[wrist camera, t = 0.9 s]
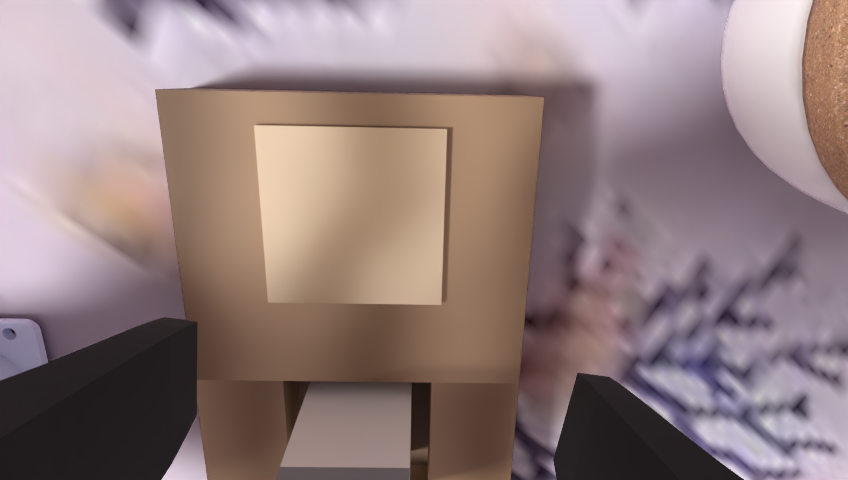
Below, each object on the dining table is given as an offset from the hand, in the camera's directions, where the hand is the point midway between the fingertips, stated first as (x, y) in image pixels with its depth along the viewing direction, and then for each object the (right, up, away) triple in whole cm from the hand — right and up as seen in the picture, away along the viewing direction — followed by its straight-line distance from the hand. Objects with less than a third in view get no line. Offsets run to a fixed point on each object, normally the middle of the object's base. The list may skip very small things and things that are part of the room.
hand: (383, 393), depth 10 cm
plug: (-2, -4, +12) cm, 13 cm away
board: (-2, 0, +11) cm, 11 cm away
